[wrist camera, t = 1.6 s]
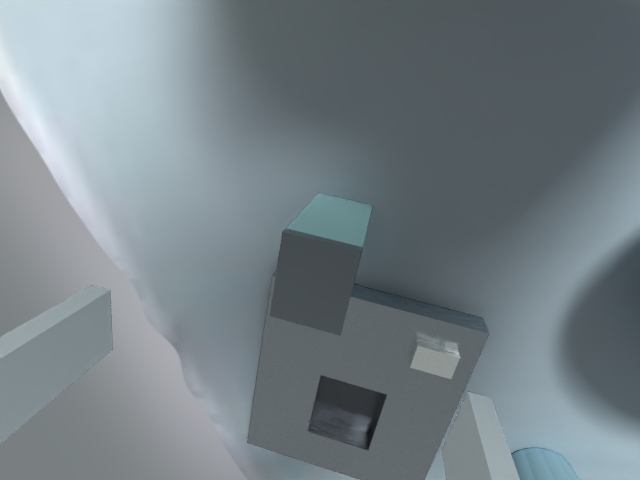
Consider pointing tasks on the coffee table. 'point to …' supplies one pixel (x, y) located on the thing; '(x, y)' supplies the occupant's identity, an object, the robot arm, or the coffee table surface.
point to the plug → (320, 263)
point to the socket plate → (365, 385)
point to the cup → (542, 465)
